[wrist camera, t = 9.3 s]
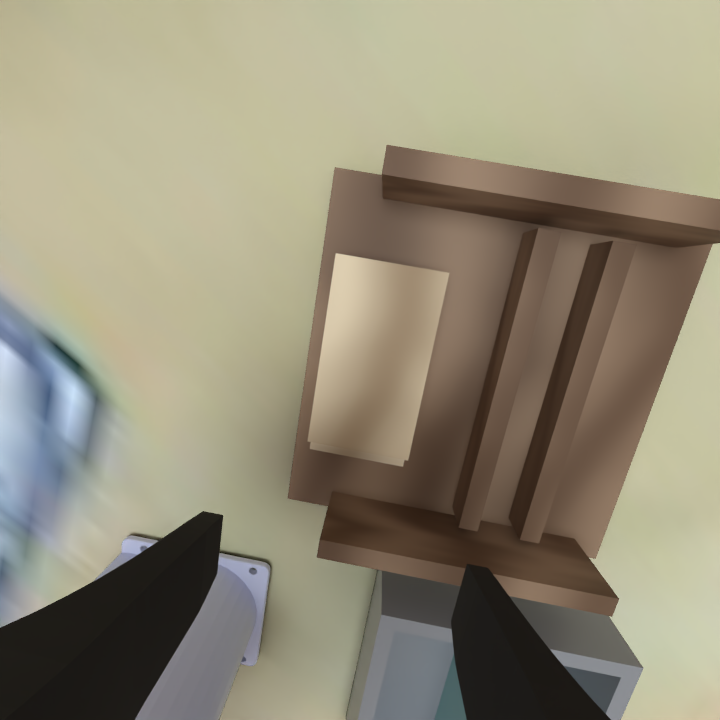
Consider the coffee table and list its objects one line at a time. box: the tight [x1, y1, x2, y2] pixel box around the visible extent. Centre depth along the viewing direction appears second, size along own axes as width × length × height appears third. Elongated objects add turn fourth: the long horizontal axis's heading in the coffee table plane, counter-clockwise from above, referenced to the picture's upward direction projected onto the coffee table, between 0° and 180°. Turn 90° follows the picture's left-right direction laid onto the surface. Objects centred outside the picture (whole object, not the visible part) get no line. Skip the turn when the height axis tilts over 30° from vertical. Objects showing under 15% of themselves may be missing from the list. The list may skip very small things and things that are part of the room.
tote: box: [346, 570, 643, 720], centre depth 21 cm, size 13×14×4 cm
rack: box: [288, 145, 720, 616], centre depth 17 cm, size 18×18×5 cm
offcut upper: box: [308, 253, 449, 461], centre depth 17 cm, size 5×9×1 cm, turn 170°
